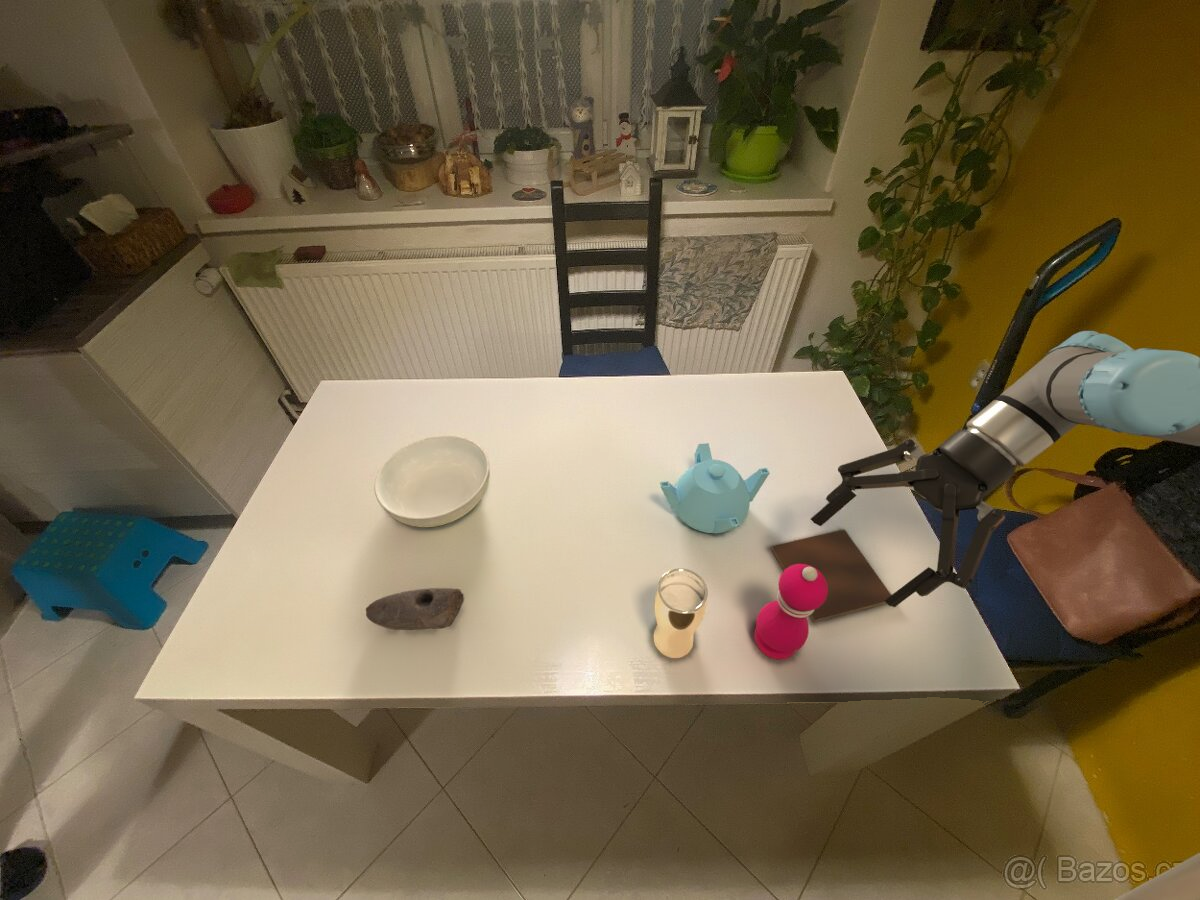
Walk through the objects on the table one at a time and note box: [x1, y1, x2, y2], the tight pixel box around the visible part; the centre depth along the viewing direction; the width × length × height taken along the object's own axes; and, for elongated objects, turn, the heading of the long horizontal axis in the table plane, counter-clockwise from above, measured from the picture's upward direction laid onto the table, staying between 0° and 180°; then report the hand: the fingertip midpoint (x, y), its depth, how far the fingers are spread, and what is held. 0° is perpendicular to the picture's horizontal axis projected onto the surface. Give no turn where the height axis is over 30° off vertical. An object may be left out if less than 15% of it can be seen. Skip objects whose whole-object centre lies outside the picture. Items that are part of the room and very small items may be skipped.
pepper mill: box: [754, 564, 828, 661], centre depth 70 cm, size 7×7×20 cm
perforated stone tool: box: [365, 587, 464, 630], centre depth 78 cm, size 15×5×7 cm, turn 92°
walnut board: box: [770, 528, 892, 623], centre depth 85 cm, size 14×14×1 cm
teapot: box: [659, 442, 770, 534], centre depth 92 cm, size 15×15×11 cm
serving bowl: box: [373, 434, 491, 528], centre depth 96 cm, size 21×21×7 cm
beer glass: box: [653, 567, 709, 659], centre depth 73 cm, size 7×7×15 cm
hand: (849, 560), depth 67 cm, fingers open, 13 cm apart
